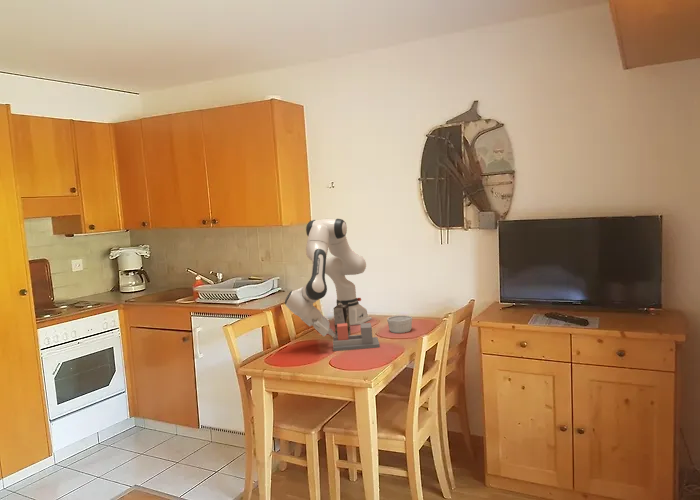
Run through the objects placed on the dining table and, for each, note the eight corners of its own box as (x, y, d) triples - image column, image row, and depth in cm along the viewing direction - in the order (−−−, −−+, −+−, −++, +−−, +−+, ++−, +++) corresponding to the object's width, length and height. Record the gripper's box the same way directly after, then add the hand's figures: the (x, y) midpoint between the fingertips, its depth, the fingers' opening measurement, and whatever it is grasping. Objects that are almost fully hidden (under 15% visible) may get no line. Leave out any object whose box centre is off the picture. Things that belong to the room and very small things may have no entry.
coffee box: (347, 338, 284) (345, 307, 283) (335, 338, 286) (332, 308, 284) (351, 334, 293) (348, 304, 292) (339, 334, 295) (336, 304, 293)
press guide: (333, 351, 262) (331, 331, 261) (333, 343, 276) (332, 324, 275) (379, 347, 263) (378, 327, 262) (377, 340, 277) (376, 321, 276)
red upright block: (338, 345, 266) (337, 326, 265) (338, 341, 272) (337, 323, 271) (348, 344, 266) (347, 325, 265) (348, 341, 272) (347, 323, 271)
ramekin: (409, 334, 284) (409, 320, 283) (385, 333, 288) (384, 320, 288) (415, 327, 296) (414, 315, 296) (391, 327, 301) (390, 315, 300)
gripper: (316, 317, 257) (338, 335, 258) (317, 308, 278) (338, 325, 279) (307, 327, 258) (330, 345, 259) (309, 317, 278) (330, 335, 279)
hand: (334, 335), depth 269 cm, fingers closed
